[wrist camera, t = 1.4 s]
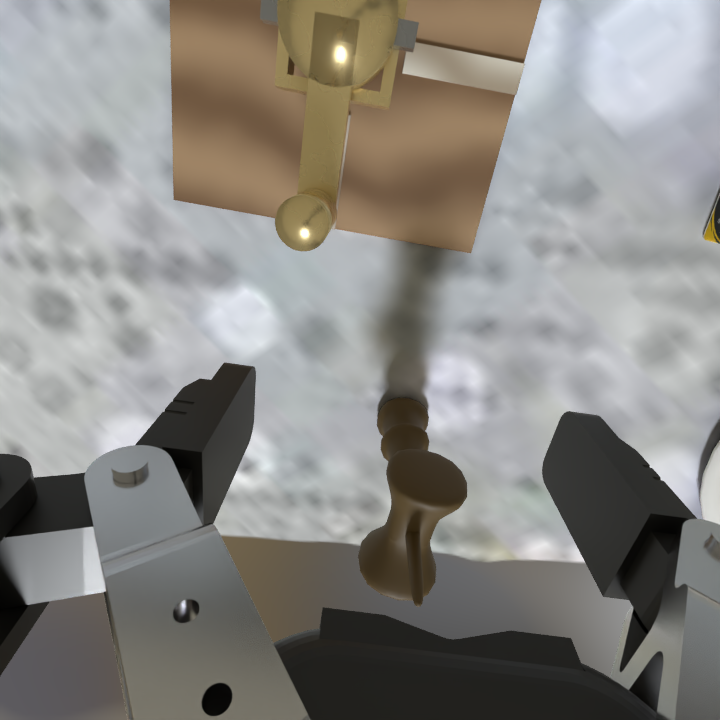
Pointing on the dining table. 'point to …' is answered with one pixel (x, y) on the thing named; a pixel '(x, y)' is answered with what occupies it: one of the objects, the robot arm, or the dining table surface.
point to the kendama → (409, 505)
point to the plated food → (711, 488)
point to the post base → (351, 118)
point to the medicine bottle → (714, 224)
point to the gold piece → (331, 92)
